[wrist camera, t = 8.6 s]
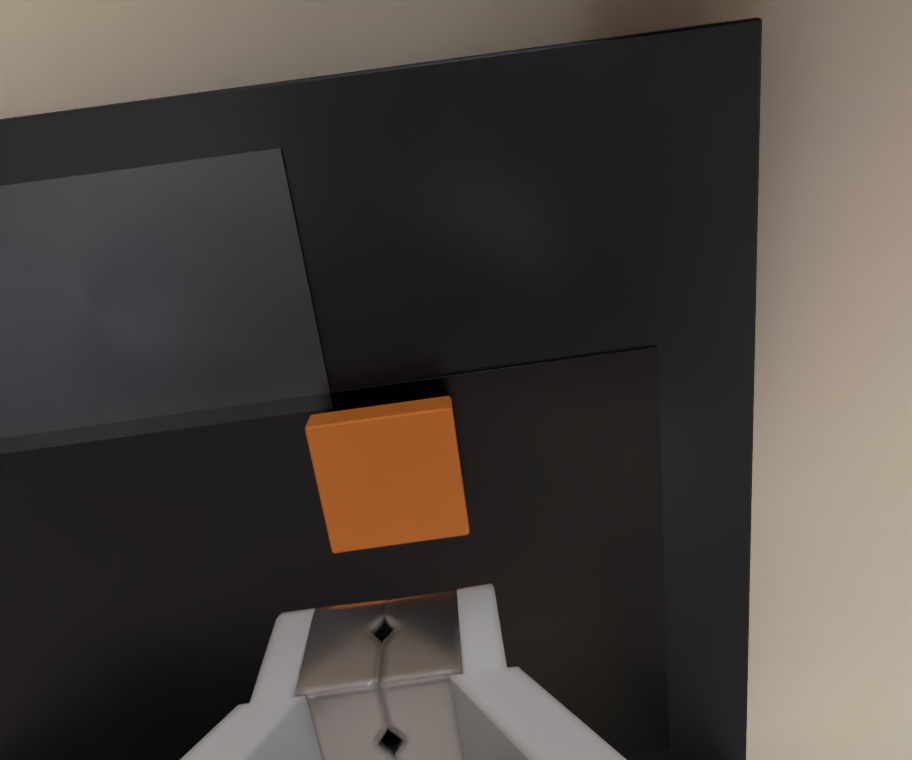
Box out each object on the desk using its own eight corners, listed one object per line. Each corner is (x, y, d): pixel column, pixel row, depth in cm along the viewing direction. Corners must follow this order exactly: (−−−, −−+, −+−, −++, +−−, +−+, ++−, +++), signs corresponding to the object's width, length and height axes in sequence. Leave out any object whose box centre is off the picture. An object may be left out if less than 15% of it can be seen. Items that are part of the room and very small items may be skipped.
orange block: (309, 413, 15) (303, 427, 14) (450, 394, 15) (452, 407, 14) (335, 535, 16) (331, 555, 15) (467, 517, 16) (469, 536, 15)
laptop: (-567, 206, 15) (-717, 214, 13) (721, 33, 15) (766, 14, 13) (-169, 849, 22) (-228, 918, 20) (719, 724, 22) (748, 780, 20)
